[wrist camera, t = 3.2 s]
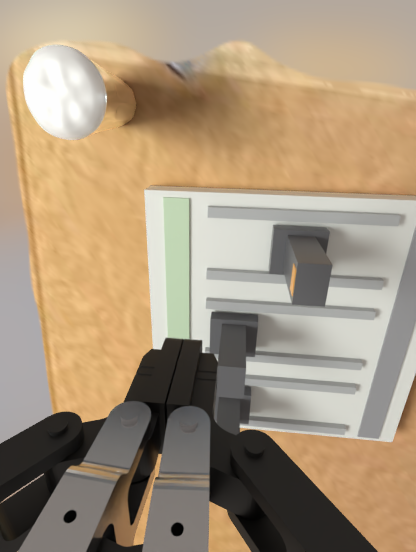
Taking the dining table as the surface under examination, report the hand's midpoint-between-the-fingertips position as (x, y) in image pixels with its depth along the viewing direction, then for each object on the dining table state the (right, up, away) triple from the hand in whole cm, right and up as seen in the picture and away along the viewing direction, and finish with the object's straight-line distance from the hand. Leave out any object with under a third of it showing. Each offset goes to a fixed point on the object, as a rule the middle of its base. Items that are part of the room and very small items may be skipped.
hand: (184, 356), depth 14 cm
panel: (+8, -1, +18) cm, 20 cm away
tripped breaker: (+8, +5, +13) cm, 16 cm away
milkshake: (-6, +16, +12) cm, 21 cm away
